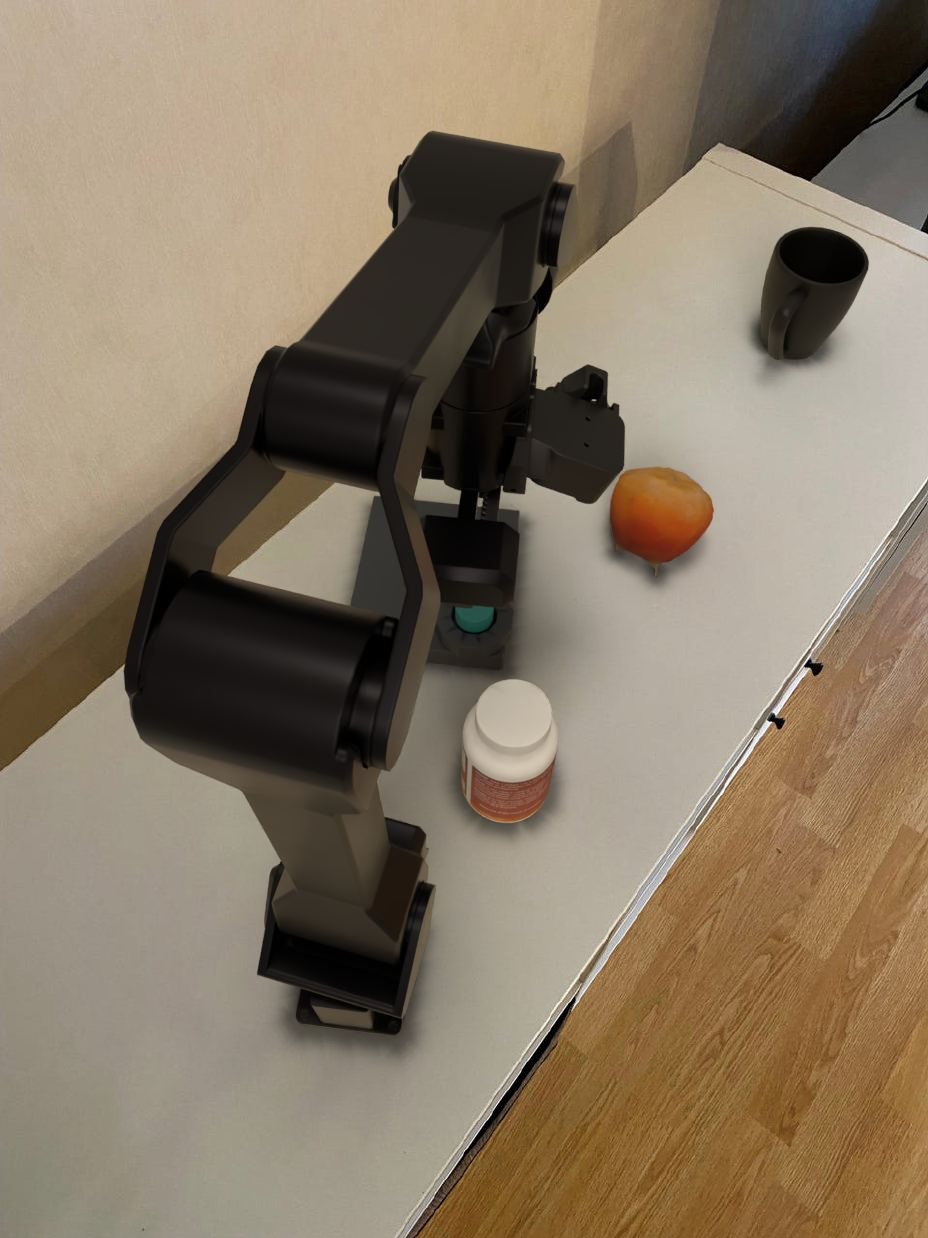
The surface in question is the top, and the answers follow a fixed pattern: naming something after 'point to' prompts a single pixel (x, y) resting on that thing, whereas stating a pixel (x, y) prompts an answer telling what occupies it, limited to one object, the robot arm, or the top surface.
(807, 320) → the mug
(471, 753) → the pill bottle
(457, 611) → the button
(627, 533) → the fruit
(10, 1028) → the top surface
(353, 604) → the scale
